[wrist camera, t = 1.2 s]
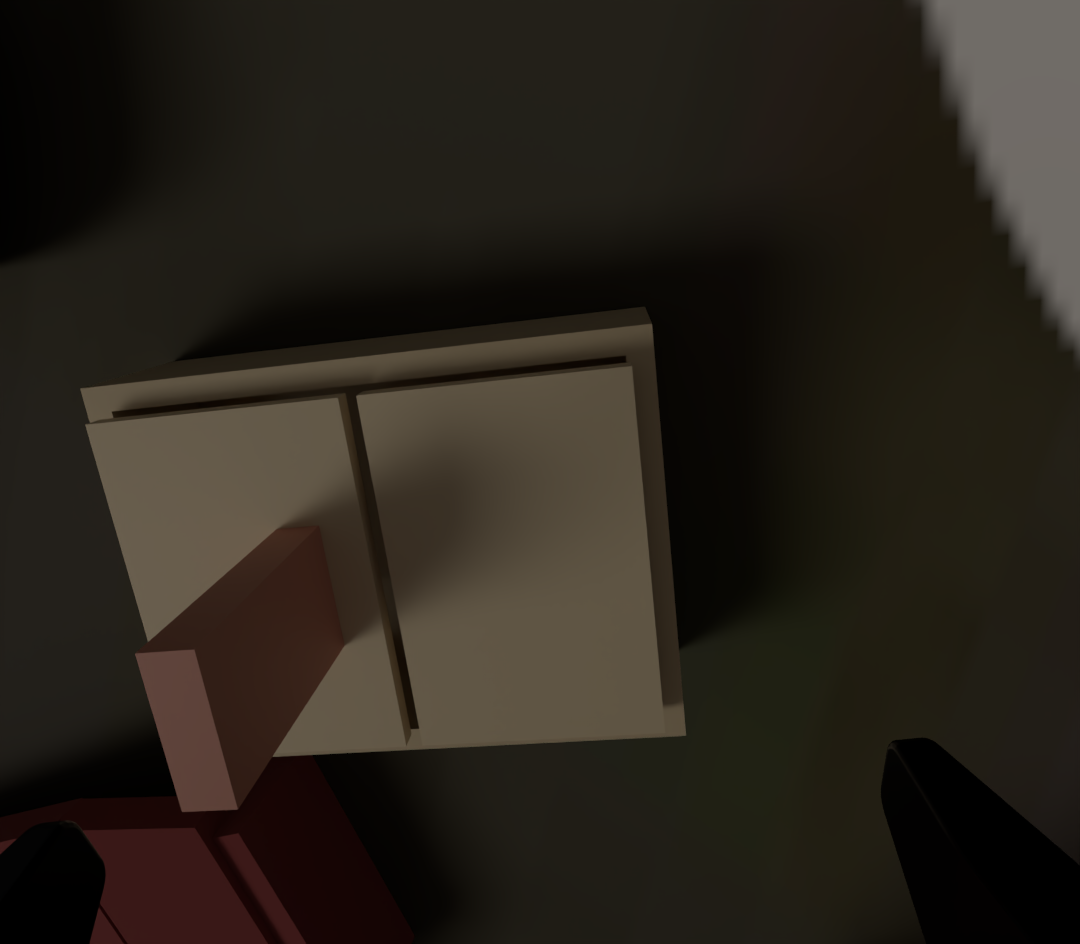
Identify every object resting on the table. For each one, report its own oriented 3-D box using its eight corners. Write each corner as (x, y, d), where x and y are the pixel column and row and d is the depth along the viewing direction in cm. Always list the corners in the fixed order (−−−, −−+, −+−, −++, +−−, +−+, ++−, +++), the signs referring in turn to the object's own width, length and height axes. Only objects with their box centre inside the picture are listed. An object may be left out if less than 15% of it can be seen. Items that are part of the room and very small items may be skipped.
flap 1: (411, 733, 20) (328, 941, 14) (191, 745, 20) (26, 947, 15) (345, 392, 17) (212, 472, 12) (99, 419, 18) (-142, 507, 12)
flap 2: (663, 720, 19) (665, 733, 18) (427, 733, 20) (422, 745, 19) (631, 361, 16) (632, 366, 16) (363, 391, 17) (356, 395, 17)
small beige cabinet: (674, 652, 23) (685, 735, 19) (253, 679, 25) (187, 761, 21) (645, 306, 20) (651, 323, 17) (172, 361, 22) (80, 388, 18)
